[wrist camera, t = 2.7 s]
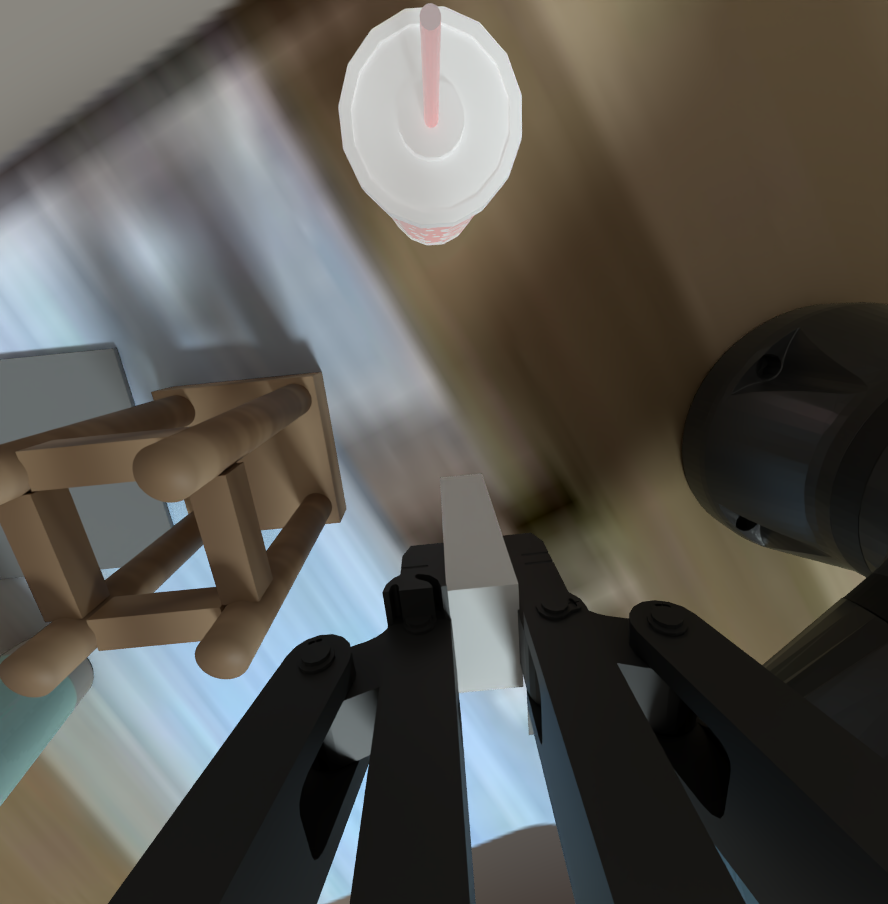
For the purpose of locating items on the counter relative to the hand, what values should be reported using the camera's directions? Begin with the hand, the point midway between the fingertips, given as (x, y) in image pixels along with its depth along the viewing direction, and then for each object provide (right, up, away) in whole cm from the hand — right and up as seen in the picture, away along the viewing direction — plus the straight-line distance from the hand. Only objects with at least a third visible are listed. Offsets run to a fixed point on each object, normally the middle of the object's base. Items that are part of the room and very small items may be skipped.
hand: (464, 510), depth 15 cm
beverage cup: (-1, +16, +7) cm, 17 cm away
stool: (-12, +2, +11) cm, 17 cm away
